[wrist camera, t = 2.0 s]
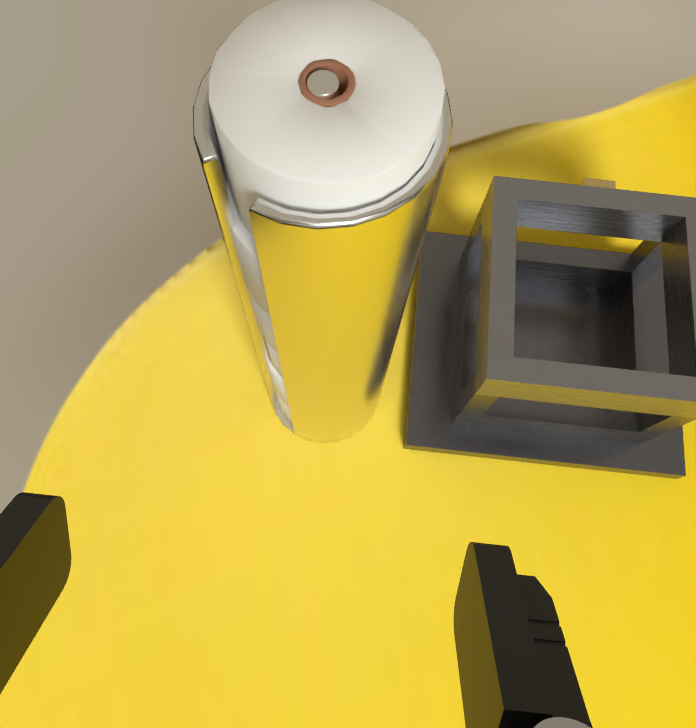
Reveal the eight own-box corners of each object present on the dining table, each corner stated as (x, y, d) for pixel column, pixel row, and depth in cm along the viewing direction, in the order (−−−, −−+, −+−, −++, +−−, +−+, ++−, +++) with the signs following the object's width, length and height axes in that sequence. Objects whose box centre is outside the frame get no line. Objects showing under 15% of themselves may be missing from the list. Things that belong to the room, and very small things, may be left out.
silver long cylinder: (261, 351, 39) (164, -3, 16) (364, 330, 40) (421, -39, 16) (282, 454, 37) (205, 226, 14) (390, 430, 38) (496, 174, 14)
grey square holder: (663, 265, 42) (754, 178, 33) (676, 478, 38) (786, 445, 29) (420, 238, 42) (445, 145, 33) (404, 448, 38) (428, 405, 29)
